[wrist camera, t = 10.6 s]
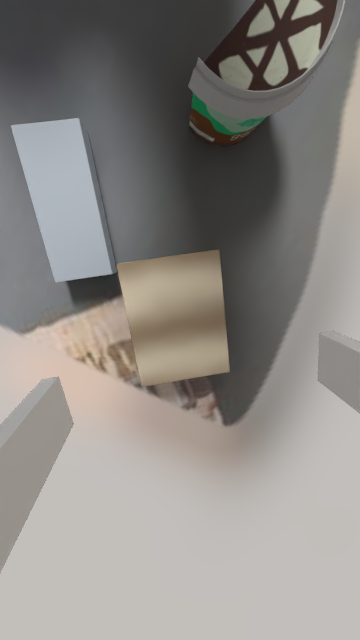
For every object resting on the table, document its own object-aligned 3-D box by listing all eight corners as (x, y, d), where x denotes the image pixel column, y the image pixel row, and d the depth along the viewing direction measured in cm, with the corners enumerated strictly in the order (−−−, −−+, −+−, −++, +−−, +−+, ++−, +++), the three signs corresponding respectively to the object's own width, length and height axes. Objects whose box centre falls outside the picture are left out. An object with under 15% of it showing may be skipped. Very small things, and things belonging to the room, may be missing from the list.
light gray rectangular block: (28, 141, 24) (10, 125, 21) (88, 134, 24) (78, 118, 21) (65, 279, 27) (55, 282, 25) (116, 272, 28) (112, 274, 25)
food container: (216, 185, 26) (250, 145, 17) (178, 138, 25) (192, 64, 15) (300, 97, 25) (391, -4, 15) (265, 40, 23) (341, -110, 14)
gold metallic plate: (121, 263, 23) (116, 264, 20) (211, 250, 23) (219, 249, 20) (143, 372, 26) (141, 386, 23) (221, 359, 27) (229, 371, 24)
